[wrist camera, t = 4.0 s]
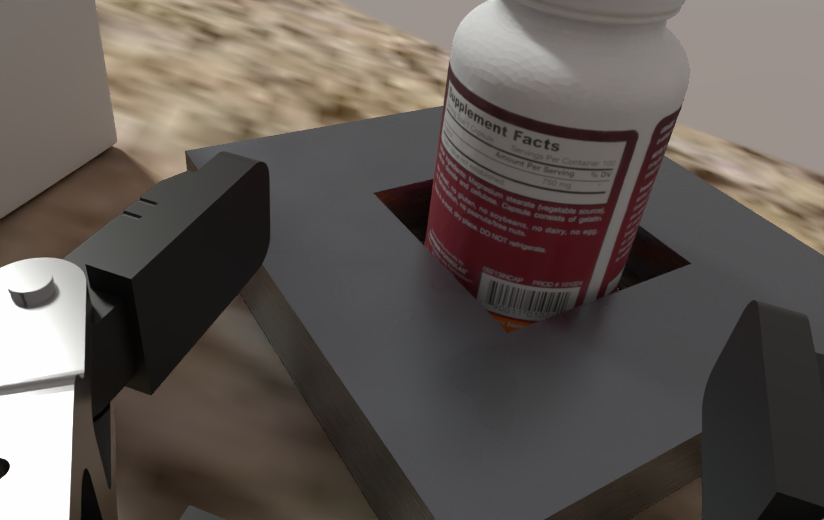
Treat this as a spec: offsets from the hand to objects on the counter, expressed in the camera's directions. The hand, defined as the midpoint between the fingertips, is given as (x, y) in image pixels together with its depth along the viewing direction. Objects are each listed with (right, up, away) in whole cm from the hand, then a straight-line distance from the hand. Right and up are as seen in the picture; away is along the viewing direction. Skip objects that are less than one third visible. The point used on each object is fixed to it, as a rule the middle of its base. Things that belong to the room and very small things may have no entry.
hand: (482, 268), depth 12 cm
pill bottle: (+2, -1, +12) cm, 12 cm away
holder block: (+2, -1, +12) cm, 12 cm away
